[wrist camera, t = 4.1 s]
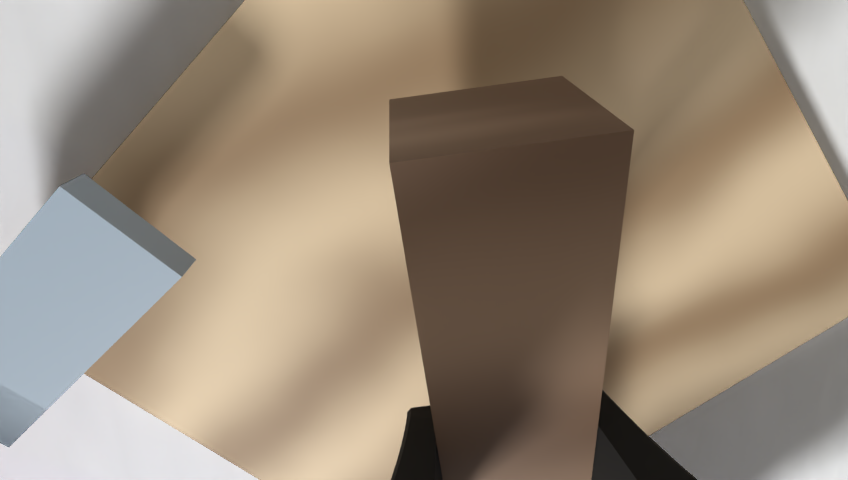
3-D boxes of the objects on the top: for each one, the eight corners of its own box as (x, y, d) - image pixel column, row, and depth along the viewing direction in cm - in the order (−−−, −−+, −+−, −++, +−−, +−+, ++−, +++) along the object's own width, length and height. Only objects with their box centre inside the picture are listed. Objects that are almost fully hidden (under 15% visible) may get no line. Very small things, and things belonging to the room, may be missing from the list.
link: (567, 545, 19) (596, 644, 16) (439, 561, 19) (447, 663, 16) (608, 69, 9) (699, 121, 7) (343, 105, 9) (325, 172, 7)
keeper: (243, 202, 14) (182, 277, 10) (106, 337, 16) (9, 447, 12) (163, 133, 13) (59, 186, 9) (27, 286, 15) (-109, 386, 11)
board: (873, 278, 18) (893, 289, 17) (415, 557, 23) (416, 574, 23) (543, -335, 10) (555, -361, 9) (-3, 296, 16) (-22, 310, 15)
